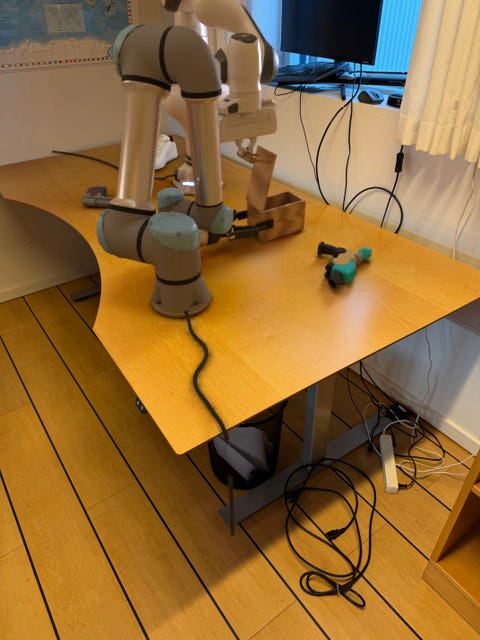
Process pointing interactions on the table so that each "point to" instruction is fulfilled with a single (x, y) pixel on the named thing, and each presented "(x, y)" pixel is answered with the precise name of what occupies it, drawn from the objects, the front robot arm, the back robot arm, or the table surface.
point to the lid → (259, 175)
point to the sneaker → (165, 150)
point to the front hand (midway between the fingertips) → (263, 217)
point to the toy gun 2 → (342, 263)
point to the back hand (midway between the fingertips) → (245, 153)
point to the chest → (279, 215)
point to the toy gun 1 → (96, 197)
